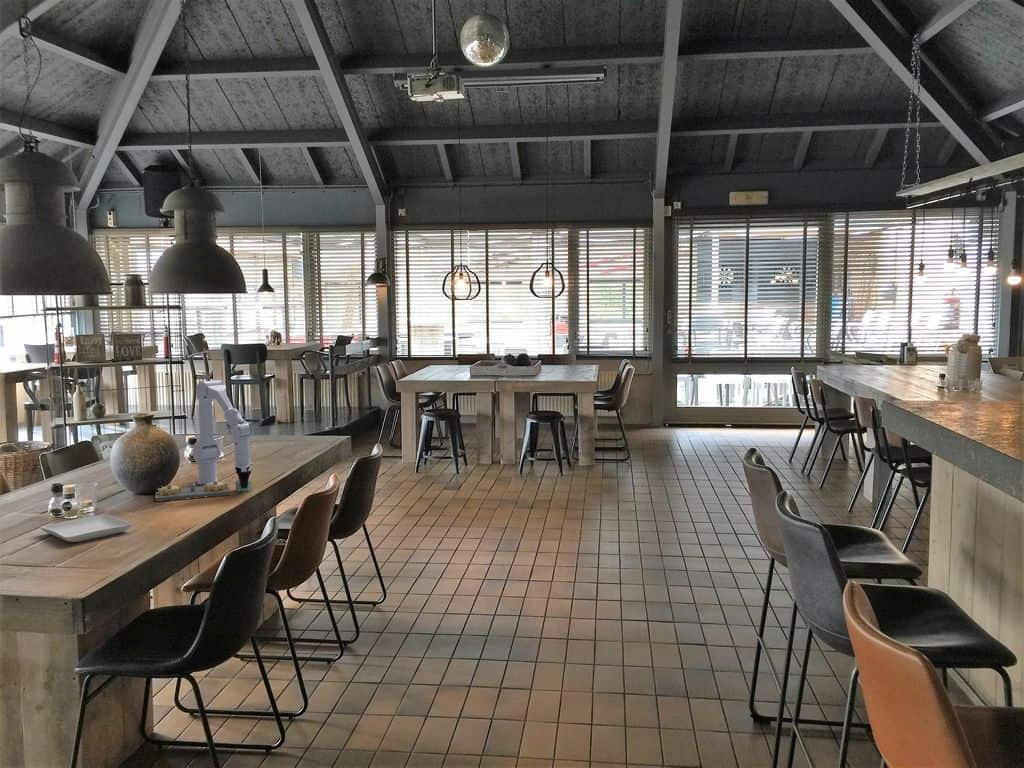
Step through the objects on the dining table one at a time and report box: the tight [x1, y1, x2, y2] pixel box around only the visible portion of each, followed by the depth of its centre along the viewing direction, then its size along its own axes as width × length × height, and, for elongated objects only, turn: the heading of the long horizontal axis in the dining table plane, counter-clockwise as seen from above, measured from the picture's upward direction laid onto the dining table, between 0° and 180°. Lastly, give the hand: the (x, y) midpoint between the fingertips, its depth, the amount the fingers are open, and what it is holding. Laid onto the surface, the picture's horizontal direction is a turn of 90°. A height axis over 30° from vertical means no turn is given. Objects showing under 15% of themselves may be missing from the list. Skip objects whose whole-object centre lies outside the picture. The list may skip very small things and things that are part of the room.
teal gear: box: [235, 478, 252, 493], centre depth 324 cm, size 6×6×4 cm
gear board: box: [154, 480, 231, 501], centre depth 317 cm, size 14×27×5 cm, turn 112°
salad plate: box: [40, 513, 133, 543], centre depth 264 cm, size 21×21×3 cm
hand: (243, 486), depth 324 cm, fingers open, 7 cm apart
